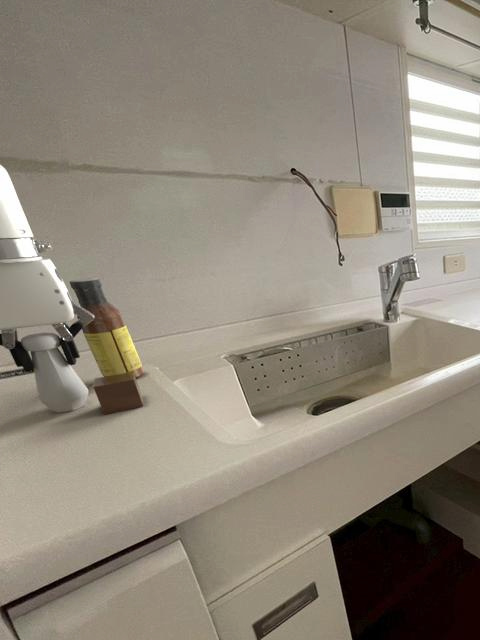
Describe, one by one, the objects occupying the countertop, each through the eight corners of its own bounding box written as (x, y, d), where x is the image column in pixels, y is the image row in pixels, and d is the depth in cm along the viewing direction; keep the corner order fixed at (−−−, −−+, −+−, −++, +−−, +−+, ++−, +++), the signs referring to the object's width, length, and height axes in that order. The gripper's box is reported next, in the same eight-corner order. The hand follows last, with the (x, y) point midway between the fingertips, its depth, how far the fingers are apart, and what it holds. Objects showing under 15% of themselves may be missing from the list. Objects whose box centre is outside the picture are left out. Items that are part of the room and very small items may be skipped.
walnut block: (105, 404, 70) (94, 378, 68) (142, 397, 73) (133, 371, 71) (104, 414, 67) (93, 387, 65) (143, 406, 70) (133, 379, 68)
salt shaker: (92, 397, 73) (65, 327, 68) (93, 407, 69) (64, 334, 64) (46, 407, 69) (13, 334, 64) (44, 418, 65) (9, 341, 61)
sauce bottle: (139, 370, 86) (106, 275, 78) (149, 376, 82) (115, 278, 75) (98, 379, 81) (59, 279, 73) (107, 386, 77) (66, 282, 70)
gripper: (82, 247, 67) (119, 350, 74) (-82, 252, 57) (-21, 372, 64) (79, 250, 62) (119, 361, 69) (-103, 256, 52) (-34, 386, 59)
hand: (51, 365), depth 66 cm, fingers closed on salt shaker, 4 cm apart
